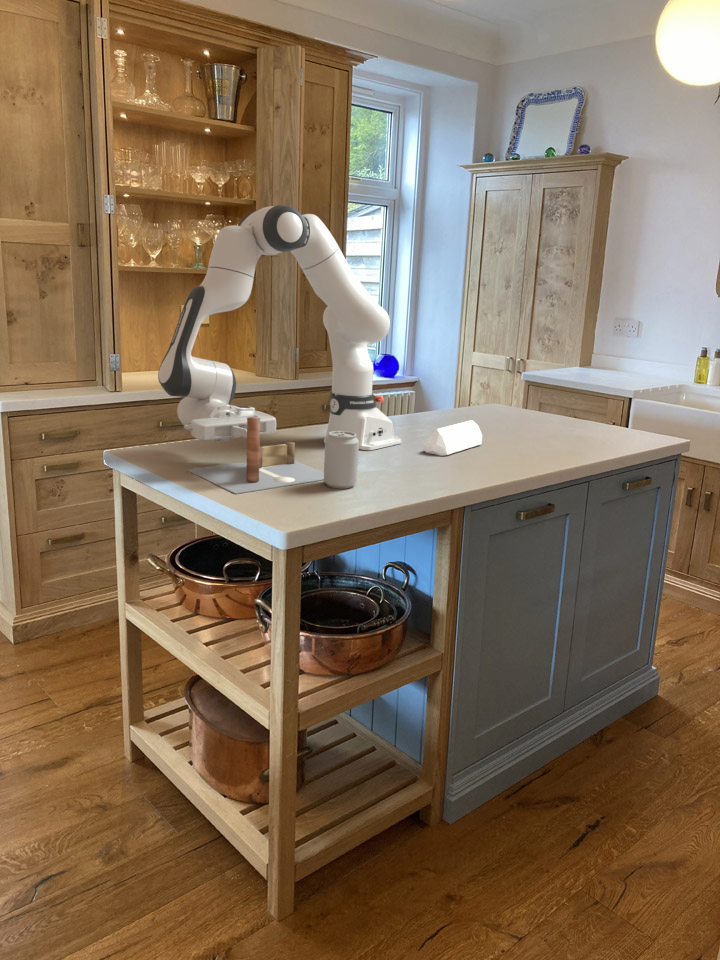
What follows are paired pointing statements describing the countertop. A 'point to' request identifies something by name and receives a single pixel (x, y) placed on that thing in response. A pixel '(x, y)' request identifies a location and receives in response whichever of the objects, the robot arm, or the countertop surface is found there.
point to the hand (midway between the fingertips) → (251, 433)
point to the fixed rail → (277, 454)
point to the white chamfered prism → (453, 438)
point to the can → (341, 459)
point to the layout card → (269, 476)
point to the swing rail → (253, 449)
